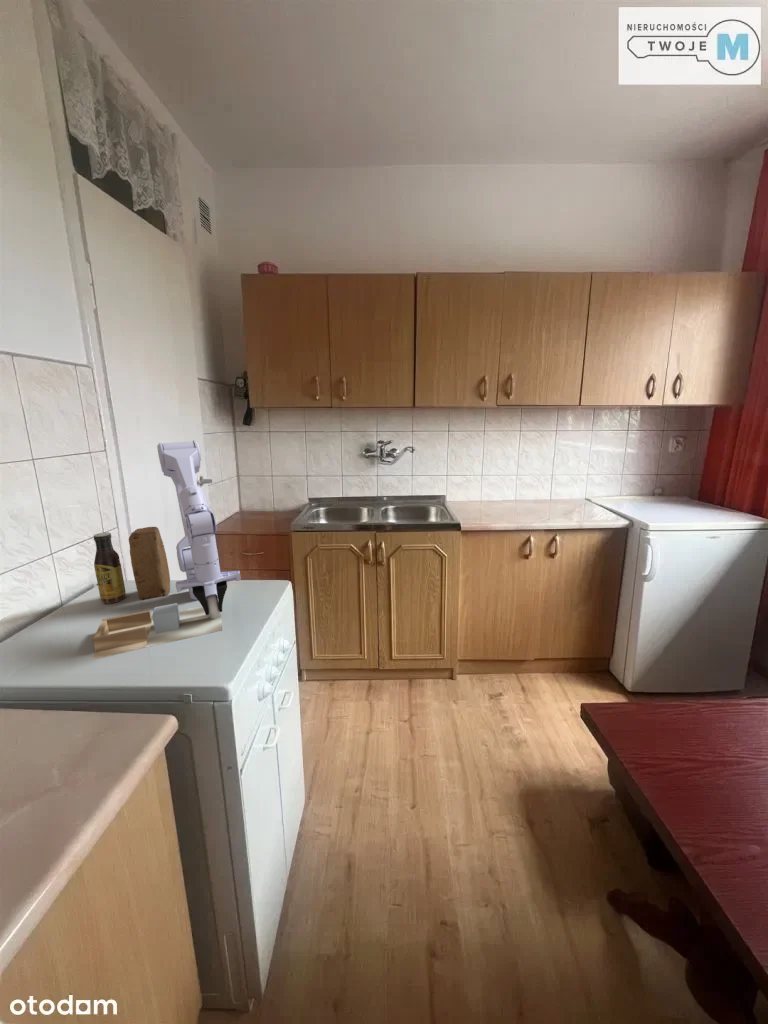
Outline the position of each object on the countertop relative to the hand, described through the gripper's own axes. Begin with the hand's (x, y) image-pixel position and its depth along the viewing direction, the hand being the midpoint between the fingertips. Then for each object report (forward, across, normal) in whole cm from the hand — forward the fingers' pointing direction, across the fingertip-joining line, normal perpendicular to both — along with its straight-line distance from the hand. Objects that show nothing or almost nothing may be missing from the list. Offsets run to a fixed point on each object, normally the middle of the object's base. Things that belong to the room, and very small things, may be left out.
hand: (213, 611), depth 105 cm
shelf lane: (+3, -12, 0) cm, 12 cm away
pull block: (+1, -6, 0) cm, 6 cm away
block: (+3, -16, +26) cm, 30 cm away
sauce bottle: (+3, -26, +28) cm, 39 cm away
